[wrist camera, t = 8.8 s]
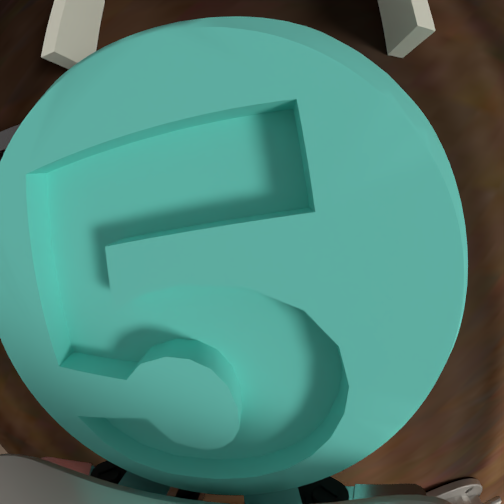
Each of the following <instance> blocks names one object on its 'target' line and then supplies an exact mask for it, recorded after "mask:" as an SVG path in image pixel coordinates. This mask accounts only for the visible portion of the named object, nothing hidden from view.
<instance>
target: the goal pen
mask: <svg viewBox="0 0 504 504" xmlns="http://www.w3.org/2000/svg"><path fill="white" fill-rule="evenodd" d="M104 3H105V0H54V4H53V7H52V11H51V14H50V18H49V22H48V26H47V30H46V35H45V39H44V44H43V49H42V54H41V58H44V59H46V60H48V61H51V62H53V63H55V64H58V65H60V66H62V67H65V68H67V69H70V68H71V67H72V66H74V65H75V64H77V63H78V62H80V61H81V60H83V59H84V58H86V57H87V56H89V55H90V54H92V53H94V52H96V48H97V41H98V35H99V29H100V23H101V18H102V13H103V8H104ZM378 5H379V9H380V14H381V19H382V24H383V30H384V35H385V41H386V48H387V54H388V55H390V56H396V57H401V58H403V57H404V56H406V55H407V54H408V53H409V52H410V51H412V50H413V49H414V48H415V47H416V46H418V45H419V44H420V43H421V42H422V41H424V40H425V39H426V38H427V37H428V36H430V35H431V34H432V33H433V32H435V27H434V23H433V19H432V16H431V12H430V8H429V5H428V2H427V0H378Z"/></svg>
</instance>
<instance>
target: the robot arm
mask: <svg viewBox="0 0 504 504" xmlns="http://www.w3.org/2000/svg"><path fill="white" fill-rule="evenodd" d="M481 492H482V486H481V484H480V482H479V480H477V479H473V478H468V479H462V480H458V481H455V482H452V483H449V484H446V485H443V486H441V487H438V488H436V489H433V490H431V491H429V492H427V493H426V492H425V490H424V489H423V488H422V487H421V486H418V485H416V484H383V485H368V484H355V487H348V486H344V485H343V484H342V483H341V482H339V481H337V480H335V479H334V478H332V477H330V476H329V477H327V478H324V479H322V480H319V481H316V482H313V483H310V484H307V485H303V486H300V487H297V488H292V489H288V490H283V491H278V492H272V493H264V494H254V495H244V501H245V504H501V498H500V497H499V496H496V497H494V498H492V499H490V500H488V501H487V502H485V503H482V502H481V500H480V498H479V496H480V494H481ZM205 494H206V493H200V492H193V491H188V490H183V489H178V488H174V487H170V486H167V485H163V484H160V483H157V482H154V481H151V480H148V479H146V478H143V477H140V476H138V475H136V474H133V473H131V472H129V471H127V470H125V469H123V468H121V467H119V466H117V465H115V464H113V463H111V462H109V461H105V462H102V463H100V464H98V465H97V466H93V464H92V463H87V462H79V461H72V460H65V459H59V458H53V457H43V458H36V457H31V456H27V455H20V454H1V455H0V504H228V503H216V502H206V501H203V499H204V496H205Z"/></svg>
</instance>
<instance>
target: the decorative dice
mask: <svg viewBox="0 0 504 504" xmlns="http://www.w3.org/2000/svg"><path fill="white" fill-rule="evenodd" d="M467 275H468V254H467V238H466V229H465V221H464V216H463V210H462V205H461V200H460V196H459V192H458V188H457V185H456V181H455V178H454V175H453V172H452V169H451V166H450V163H449V161H448V158H447V156H446V154H445V151H444V149H443V147H442V145H441V143H440V141H439V139H438V137H437V135H436V133H435V131H434V129H433V128H432V126H431V124H430V123H429V121H428V120H427V118H426V117H425V115H424V114H423V112H422V111H421V110H420V108H419V107H418V106H417V105H416V104H415V102H414V101H413V100H412V99H411V98H410V97H409V96H408V95H407V94H406V93H405V91H404V90H403V89H402V88H401V87H400V86H399V85H398V84H397V83H396V82H395V81H394V80H393V79H392V78H391V77H390V76H389V75H388V74H387V73H386V72H384V71H383V70H382V69H381V68H379V67H378V66H377V65H375V64H374V63H373V62H372V61H370V60H369V59H368V58H366V57H365V56H364V55H362V54H361V53H359V52H358V51H356V50H354V49H353V48H351V47H349V46H347V45H346V44H344V43H342V42H340V41H338V40H336V39H334V38H332V37H330V36H328V35H326V34H324V33H322V32H320V31H317V30H315V29H312V28H309V27H306V26H303V25H299V24H295V23H291V22H287V21H281V20H275V19H268V18H257V17H212V18H202V19H195V20H188V21H181V22H176V23H172V24H167V25H163V26H159V27H155V28H152V29H148V30H145V31H142V32H139V33H136V34H133V35H130V36H128V37H125V38H123V39H121V40H118V41H116V42H114V43H111V44H109V45H107V46H105V47H103V48H101V49H100V50H98V51H96V52H94V53H92V54H90V55H89V56H87V57H86V58H84V59H83V60H81V61H80V62H78V63H77V64H75V65H74V66H72V67H71V68H70V69H69V70H68V71H66V72H65V73H64V74H63V75H62V76H60V77H59V78H58V79H57V80H56V81H55V82H54V84H53V85H52V86H51V87H50V88H49V89H48V90H47V91H46V93H45V94H44V95H43V96H42V97H41V98H40V100H39V101H38V102H37V103H36V105H35V106H34V107H33V108H32V110H31V111H30V112H29V114H28V115H27V116H26V117H25V119H24V120H23V122H22V123H21V124H20V126H19V128H18V129H17V131H16V132H15V134H14V135H13V137H12V139H11V141H10V143H9V144H8V146H7V148H6V150H5V152H4V154H3V157H2V159H1V161H0V338H1V341H2V343H3V345H4V347H5V350H6V352H7V354H8V356H9V358H10V360H11V362H12V363H13V365H14V367H15V369H16V370H17V372H18V374H19V375H20V377H21V379H22V380H23V382H24V383H25V384H26V386H27V387H28V389H29V390H30V392H31V393H32V394H33V395H34V397H35V398H36V399H37V401H38V402H39V403H40V404H41V405H42V406H43V408H44V409H45V410H46V411H47V412H48V413H49V414H50V415H51V416H52V417H53V418H54V419H55V420H56V421H57V422H58V423H59V424H60V425H61V426H62V427H63V428H64V429H65V430H66V431H67V432H69V433H70V434H71V435H72V436H73V437H74V438H76V439H77V440H78V441H79V442H81V443H82V444H83V445H85V446H86V447H88V448H89V449H90V450H92V451H93V452H95V453H96V454H98V455H99V456H101V457H103V458H104V459H106V460H108V461H109V462H111V463H113V464H115V465H117V466H119V467H121V468H123V469H125V470H127V471H129V472H131V473H133V474H136V475H138V476H140V477H143V478H146V479H148V480H151V481H154V482H157V483H160V484H163V485H167V486H170V487H174V488H178V489H183V490H188V491H193V492H200V493H207V494H218V495H254V494H264V493H272V492H278V491H283V490H288V489H292V488H297V487H300V486H303V485H307V484H310V483H313V482H316V481H319V480H322V479H324V478H327V477H329V476H331V475H334V474H336V473H338V472H340V471H342V470H344V469H346V468H348V467H350V466H352V465H353V464H355V463H357V462H358V461H360V460H362V459H363V458H365V457H366V456H368V455H369V454H371V453H372V452H374V451H375V450H376V449H378V448H379V447H380V446H382V445H383V444H384V443H385V442H387V441H388V440H389V439H390V438H391V437H392V436H393V435H394V434H396V433H397V432H398V431H399V430H400V429H401V428H402V427H403V426H404V425H405V424H406V422H407V421H408V420H409V419H410V418H411V417H412V416H413V414H414V413H415V412H416V411H417V410H418V408H419V407H420V406H421V404H422V403H423V402H424V400H425V399H426V397H427V396H428V394H429V393H430V391H431V390H432V388H433V386H434V385H435V383H436V381H437V379H438V377H439V375H440V374H441V372H442V370H443V368H444V366H445V364H446V362H447V359H448V357H449V355H450V353H451V351H452V349H453V346H454V344H455V341H456V338H457V335H458V332H459V328H460V325H461V321H462V316H463V311H464V306H465V299H466V290H467Z"/></svg>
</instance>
